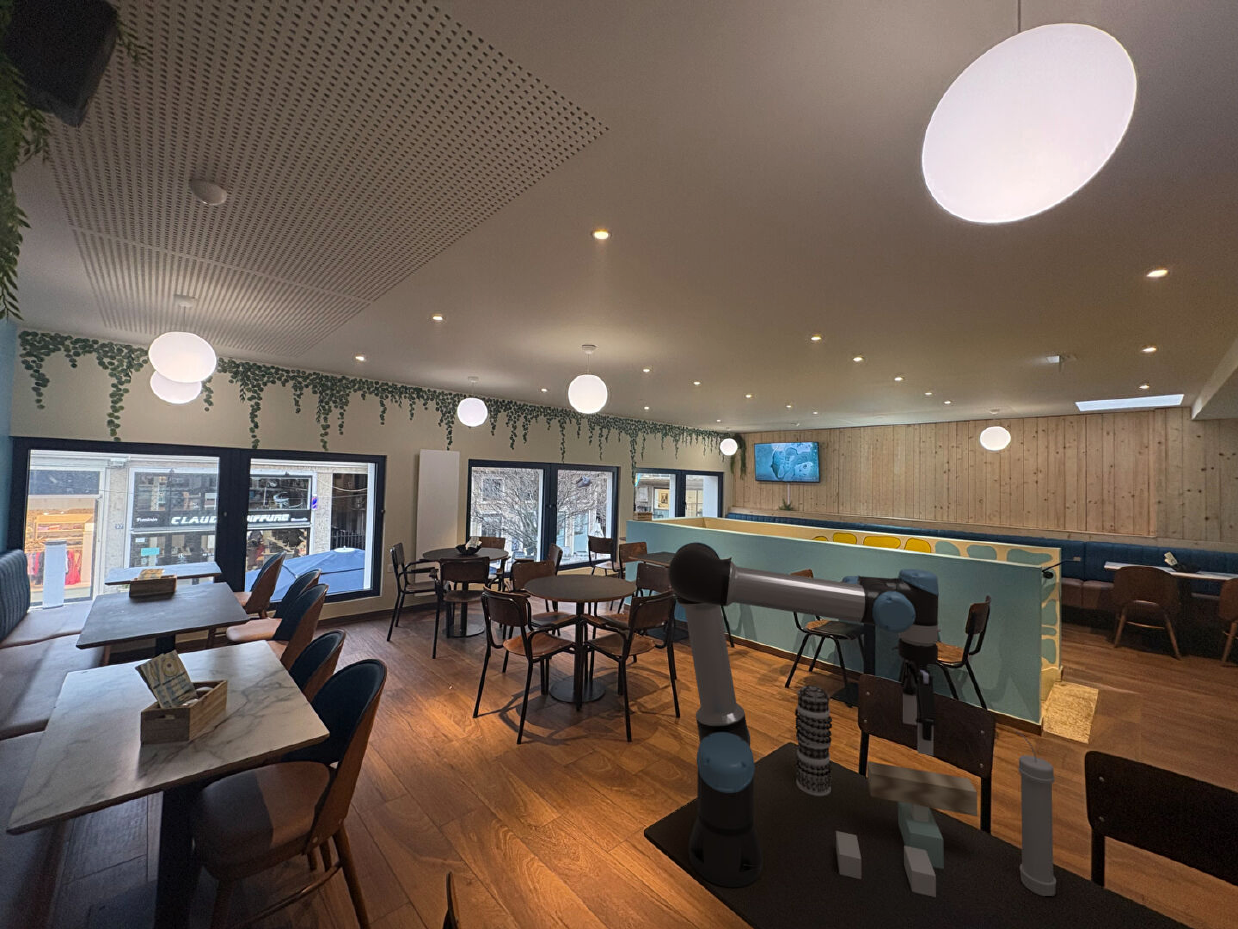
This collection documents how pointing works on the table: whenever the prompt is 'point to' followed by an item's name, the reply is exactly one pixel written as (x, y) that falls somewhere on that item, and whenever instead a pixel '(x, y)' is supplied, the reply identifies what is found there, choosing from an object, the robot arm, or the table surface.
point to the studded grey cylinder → (813, 741)
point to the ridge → (921, 831)
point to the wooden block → (922, 788)
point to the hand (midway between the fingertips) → (917, 738)
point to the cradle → (914, 863)
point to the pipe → (1037, 824)
